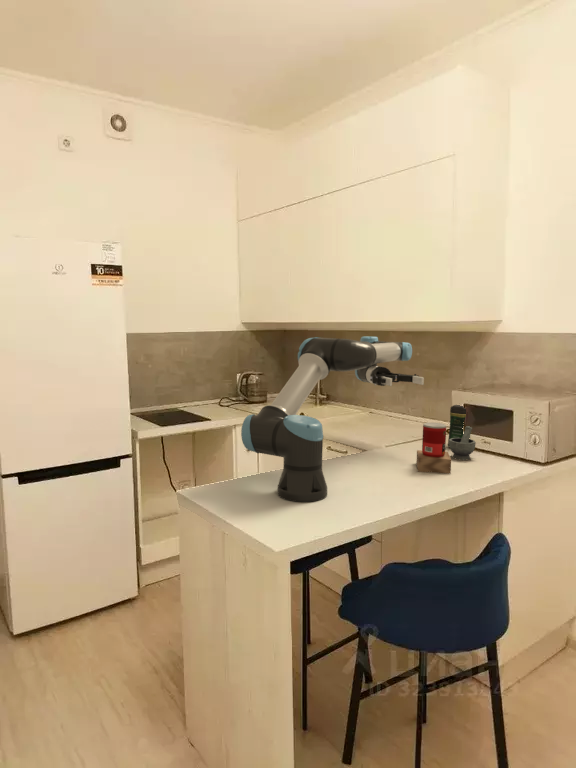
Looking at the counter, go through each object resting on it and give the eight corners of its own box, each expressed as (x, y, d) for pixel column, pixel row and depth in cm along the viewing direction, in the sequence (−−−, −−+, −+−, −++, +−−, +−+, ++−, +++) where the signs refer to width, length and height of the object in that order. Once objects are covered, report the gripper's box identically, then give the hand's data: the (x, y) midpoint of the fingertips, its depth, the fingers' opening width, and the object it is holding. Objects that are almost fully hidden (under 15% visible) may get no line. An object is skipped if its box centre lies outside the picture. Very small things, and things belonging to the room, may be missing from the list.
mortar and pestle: (466, 462, 203) (468, 431, 201) (443, 457, 209) (445, 427, 208) (480, 457, 211) (481, 427, 209) (457, 452, 217) (459, 423, 216)
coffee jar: (464, 451, 220) (466, 406, 218) (445, 448, 225) (447, 404, 223) (472, 447, 228) (475, 403, 225) (454, 444, 233) (456, 401, 230)
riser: (418, 471, 190) (418, 457, 189) (416, 463, 200) (416, 450, 200) (450, 473, 188) (451, 459, 187) (447, 465, 198) (447, 451, 198)
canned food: (447, 457, 190) (448, 426, 188) (424, 457, 190) (425, 426, 188) (441, 452, 197) (443, 422, 196) (419, 451, 197) (421, 422, 196)
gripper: (405, 384, 225) (435, 390, 205) (351, 385, 217) (377, 392, 197) (405, 366, 224) (436, 371, 204) (351, 367, 216) (377, 372, 196)
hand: (407, 381), depth 201 cm, fingers open, 13 cm apart
